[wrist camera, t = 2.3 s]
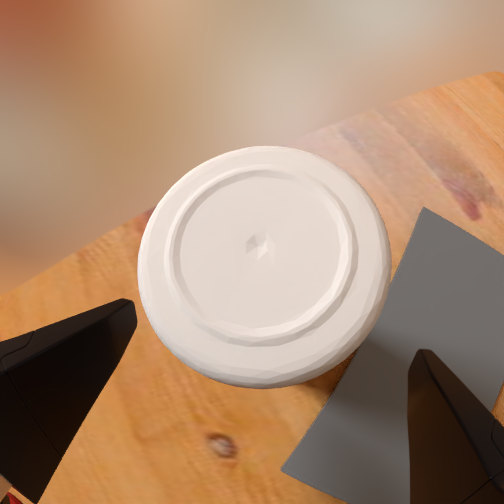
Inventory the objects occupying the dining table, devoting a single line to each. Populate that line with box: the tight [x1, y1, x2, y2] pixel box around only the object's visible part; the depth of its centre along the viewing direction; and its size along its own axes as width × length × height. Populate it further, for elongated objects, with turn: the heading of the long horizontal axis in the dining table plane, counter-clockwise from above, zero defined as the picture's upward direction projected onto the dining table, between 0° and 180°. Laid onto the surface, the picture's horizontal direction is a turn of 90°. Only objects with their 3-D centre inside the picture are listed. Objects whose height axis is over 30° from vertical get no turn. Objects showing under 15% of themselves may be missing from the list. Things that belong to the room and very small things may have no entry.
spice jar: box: [138, 146, 392, 389], centre depth 11 cm, size 5×5×14 cm
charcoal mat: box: [281, 207, 504, 504], centre depth 15 cm, size 18×10×1 cm, turn 147°
